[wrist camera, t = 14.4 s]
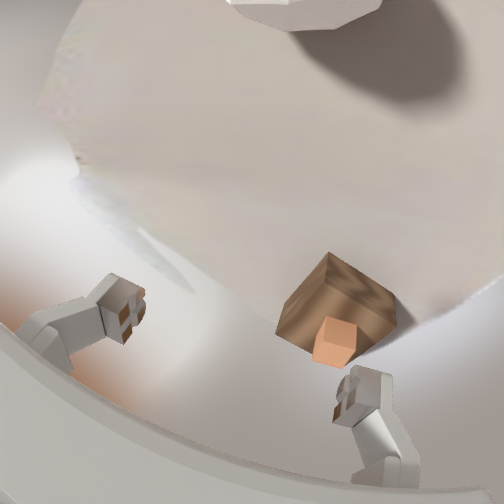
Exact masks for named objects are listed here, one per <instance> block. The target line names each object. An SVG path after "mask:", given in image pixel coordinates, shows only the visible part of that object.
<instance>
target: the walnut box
mask: <svg viewBox="0 0 504 504" xmlns="http://www.w3.org/2000/svg"><path fill="white" fill-rule="evenodd" d="M326 316H329V317H332V318H335V319H338V320H342V321H345V322H348V323H351V324H355V325H357V336H356V351H355V352H354V353H353V355H352V356H351V358H350V359H349V360H348V362H347V363H346V364H345V366H346V365H347V364H348V363H350V362H351V361H353V360H354V359H355V358H357V357H358V356H360V355H361V354H362V353H364V352H365V351H366V350H368V349H369V348H370V347H372V346H373V345H374V344H376V343H377V342H378V341H379V340H381V339H382V338H383V337H384V336H386V335H387V334H388V333H390V332H391V331H392V330H393V329H394V328H396V327H397V323H396V312H395V303H394V294H393V293H391V292H390V291H388V290H387V289H385V288H384V287H382V286H381V285H379V284H378V283H376V282H375V281H373V280H372V279H370V278H369V277H367V276H366V275H364V274H363V273H361V272H360V271H358V270H357V269H355V268H353V267H352V266H350V265H349V264H347V263H346V262H344V261H343V260H341V259H339V258H338V257H336V256H335V255H333V254H332V253H330V252H328V253H327V254H326V255H325V257H324V258H323V259H322V260H321V261H320V263H319V264H318V265H317V266H316V267H315V269H314V270H313V271H312V272H311V273H310V274H309V276H308V277H307V278H306V279H305V280H304V281H303V283H302V284H301V285H300V286H299V287H298V288H297V290H296V291H295V292H294V293H293V294H292V295H291V297H290V298H289V299H288V300H287V301H286V302H285V303H284V307H283V310H282V313H281V316H280V320H279V323H278V326H277V329H276V333H275V334H276V335H277V336H279V337H281V338H283V339H285V340H287V341H289V342H291V343H292V344H294V345H296V346H298V347H300V348H302V349H304V350H306V351H307V352H309V353H311V354H313V350H314V345H315V339H316V335H317V334H318V332H319V330H320V328H321V326H322V324H323V322H324V320H325V318H326Z"/></svg>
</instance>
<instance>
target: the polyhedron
mask: <svg viewBox="0 0 504 504" xmlns="http://www.w3.org/2000/svg"><path fill="white" fill-rule="evenodd" d="M226 1H227V2H228V3H229V4H230V5H231V6H232V7H233V8H235V9H236V10H237V11H238V12H239V13H240V14H242V15H243V16H244V17H245V18H248V19H251V20H254V21H257V22H260V23H263V24H265V25H268V26H271V27H273V28H276V29H278V30H281V31H283V32H289V31H303V30H328V29H337V28H339V27H341V26H343V25H345V24H347V23H349V22H351V21H353V20H355V19H357V18H359V17H361V16H363V15H365V14H368V13H370V12H372V11H374V10H377V9H379V7H380V5H381V3H382V1H383V0H226Z"/></svg>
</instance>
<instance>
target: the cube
mask: <svg viewBox="0 0 504 504" xmlns="http://www.w3.org/2000/svg"><path fill="white" fill-rule="evenodd" d="M356 336H357V325H355V324H351V323H348V322H345V321H342V320H338V319H335V318H332V317H329V316H326V318H325V320H324V322H323V324H322V326H321V328H320V330H319V332H318V334H317V335H316V339H315V345H314V350H313V355H312V361H315V362H318V363H322V364H325V365H329V366H333V367H336V368H340V369H342V368H343V367H344V366H345V364H346V363H347V362H348V360H349V359H350V358H351V356H352V355H353V353H354V352H355V351H356Z"/></svg>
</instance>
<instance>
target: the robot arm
mask: <svg viewBox="0 0 504 504" xmlns="http://www.w3.org/2000/svg"><path fill="white" fill-rule="evenodd" d="M144 296H145V289H144V288H142V287H140V286H138V285H136V284H134V283H132V282H129V281H128V280H125V279H123V278H121V277H119V276H117V275H115V274H113V273H110V274H108V275H107V276H106V277H105V278H104V279H103V280H102V281H101V282H100V283H99V284H98V285H97V286H96V287H95V288H94V289H93V290H92V291H91V292H90V293H89V294H88V295H87V297H86V298H84V297H80V298H77V299H73V300H70V301H68V302H64V303H62V304H58V305H55V306H52V307H49V308H46V309H43V310H40V311H37V312H34V313H33V314H32V315H31V316H30V317H29V318H28V319H27V320H26V321H25V322H24V323H23V324H22V325H21V326H20V327H19V329H18V330H17V331H16V332H15V333H12V332H11V331H10V330H9V329H8V328H7V327H5V326H4V325H3V324H2V323H1V322H0V504H495V502H494V500H493V498H492V496H491V494H490V492H489V491H488V490H487V488H486V487H484V486H474V487H461V488H440V489H419V480H420V462H421V461H420V460H421V458H420V457H419V455H418V453H417V451H416V449H415V447H414V445H413V443H412V441H411V440H410V438H409V436H408V434H407V432H406V430H405V428H404V427H403V425H402V423H401V421H400V419H399V417H398V415H397V414H396V412H393V377H392V375H391V374H388V373H384V372H380V371H378V370H374V369H370V368H366V367H362V366H359V365H355V366H353V367H352V368H351V370H350V375H347V376H345V377H344V378H343V379H342V381H341V382H340V385H339V387H338V390H337V395H336V399H337V401H338V403H339V404H338V405H337V406H336V407H335V409H334V415H333V422H332V423H334V424H338V425H342V426H346V427H350V428H352V431H353V434H354V437H355V440H356V443H357V445H358V448H359V451H360V454H361V457H362V460H363V463H364V466H365V469H362V470H360V471H358V472H356V473H354V474H353V475H352V477H351V483H344V482H337V481H331V480H325V479H320V478H315V477H309V476H305V475H300V474H296V473H291V472H287V471H283V470H279V469H275V468H272V467H268V466H264V465H261V464H257V463H254V462H251V461H247V460H244V459H241V458H238V457H235V456H232V455H229V454H226V453H223V452H220V451H217V450H215V449H212V448H209V447H207V446H204V445H202V444H199V443H196V442H194V441H192V440H189V439H187V438H184V437H182V436H179V435H177V434H175V433H173V432H170V431H168V430H166V429H164V428H162V427H160V426H157V425H155V424H153V423H151V422H149V421H147V420H145V419H143V418H141V417H139V416H137V415H135V414H133V413H131V412H129V411H127V410H126V409H124V408H122V407H120V406H118V405H117V404H114V403H113V402H111V401H110V400H108V399H106V398H104V397H102V396H101V395H99V394H98V393H96V392H94V391H93V390H91V389H89V388H88V387H86V386H85V385H83V384H81V383H80V382H78V381H77V380H75V379H74V378H72V377H71V376H69V374H70V373H71V371H72V370H73V364H72V362H71V360H70V358H69V355H71V354H73V353H74V352H77V351H79V350H81V349H83V348H85V347H87V346H88V345H91V344H93V343H95V342H97V341H99V340H101V339H103V338H105V337H106V336H107V337H109V338H111V339H113V340H115V341H117V342H119V343H121V344H123V345H124V344H125V342H126V341H127V339H128V338H129V337H130V335H131V334H132V327H134V326H137V325H139V323H140V322H141V320H142V318H143V316H144V314H145V310H146V303H145V301H144V300H143V297H144Z"/></svg>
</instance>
